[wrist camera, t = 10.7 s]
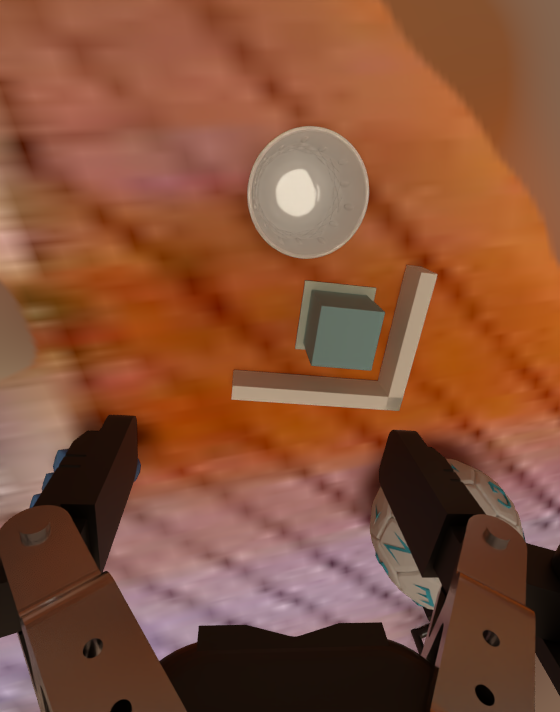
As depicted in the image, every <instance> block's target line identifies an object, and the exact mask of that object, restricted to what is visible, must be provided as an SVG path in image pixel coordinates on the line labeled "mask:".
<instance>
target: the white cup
mask: <svg viewBox="0 0 560 712" xmlns="http://www.w3.org/2000/svg"><path fill="white" fill-rule="evenodd" d="M368 199H369V181H368V176H367V171H366V168H365V165H364V163H363V161H362V159H361V157H360V155H359V153H358V152H357V150H356V149H355V148H354V147H353V145H352V144H351V143H350V142H349V141H347V140H346V139H345V138H344V137H342V136H341V135H339V134H338V133H336V132H334V131H332V130H329V129H326V128H322V127H316V126H304V127H298V128H294V129H291V130H288V131H286V132H284V133H282V134H280V135H279V136H277V137H276V138H274V139H273V140H272V141H271V142H270V143H269V144H268V145H267V146H266V147H265V148H264V149H263V150H262V152H261V153H260V154H259V156H258V157H257V159H256V161H255V163H254V165H253V168H252V170H251V173H250V177H249V181H248V189H247V200H248V207H249V212H250V215H251V218H252V221H253V223H254V225H255V227H256V229H257V231H258V232H259V234H260V235H261V236H262V238H263V239H264V240H265V241H266V242H267V243H268V244H269V245H270V246H272V247H273V248H274V249H276V250H277V251H279V252H281V253H283V254H285V255H288V256H291V257H295V258H304V259H309V258H317V257H321V256H325V255H327V254H330V253H332V252H334V251H336V250H337V249H339V248H340V247H342V246H343V245H344V244H345V243H346V242H348V241H349V240H350V238H351V237H352V236H353V235H354V234H355V232H356V231H357V229H358V228H359V226H360V224H361V222H362V220H363V218H364V215H365V213H366V209H367V205H368Z"/></svg>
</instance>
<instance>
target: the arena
mask: <svg viewBox="0 0 560 712" xmlns="http://www.w3.org/2000/svg"><path fill="white" fill-rule="evenodd" d="M436 278H437V274H436V273H434V272H432V271H429V270H427V269H425V268H423V267H421V266H412V265H406V269H405V273H404V277H403V281H402V285H401V290H400V294H399V298H398V302H397V306H396V310H395V314H394V318H393V322H392V326H391V330H390V334H389V338H388V342H387V346H386V350H385V354H384V358H383V362H382V366H381V370H380V374H379V378H378V381H373V380H360V379H347V378H334V377H321V376H308V375H295V374H282V373H269V372H256V371H243V370H234V372H233V385H232V399H233V400H247V401H262V402H277V403H291V404H306V405H321V406H335V407H350V408H365V409H379V410H394V411H399V410H400V406H401V403H402V399H403V395H404V392H405V388H406V385H407V381H408V378H409V374H410V371H411V367H412V363H413V360H414V356H415V353H416V349H417V346H418V342H419V339H420V335H421V331H422V328H423V324H424V321H425V317H426V314H427V310H428V306H429V303H430V299H431V296H432V292H433V289H434V285H435V282H436ZM311 290H322V291H331V292H341V293H350V294H360V295H367V296H368V297H369V298H370V299H371V300H373V301H374V297H375V292H376V288H373V287H364V286H354V285H345V284H336V283H326V282H317V281H308V280H305V285H304V292H303V298H302V305H301V312H300V318H299V325H298V331H297V338H296V345H295V349H305V346H304V344H303V340H304V334H305V328H306V321H307V315H308V309H309V303H310V296H311ZM305 350H306V349H305Z"/></svg>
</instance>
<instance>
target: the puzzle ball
mask: <svg viewBox="0 0 560 712" xmlns="http://www.w3.org/2000/svg"><path fill="white" fill-rule="evenodd" d="M446 460H447V461H448V463H449V464H450V465H451V467H452V468H453V469H454V472H456V474H457V475H458V476H459V478H460V479H461V482H463V483H464V485H465V486H466V487H467V489H468V490H469V491H470V493H471V494H472V496H473V497H474V498H475V500H476V501H477V502H478V504H479V505H480V507H481V508H482V509H483V511H484V512H485V513H486V515H490V516H493V517H496V518H498V519H501V520H503V521H504V522H506V523H508V524H509V525H511V526H512V527H513V528H514V529H515V530H517V531H518V532H519V534H520V535H521V536H522V537H524V533H522V529H523V528H522V527H521V522H520V518H519V515H518V513H517V511H516V510H515V507H514V504H513V503H512V501H511V500H510V499H509V498H508V496H507V495H506V494H505V492H504V491H503V490H502V489H501V487H500V486H499V485H498V484H497V483H496V482H494V481H493V480H492V479H491V478H490V477H489V476H487V475H486V474H484V473H482V471H481V472H480V471H479V470H477V469H475V468H473V467H471V466H468V465H466V464H464V463H461V462H459V461H457V460H454V459H447V458H446ZM370 534H371V539H372V543H373V546H374V548H375V551H376V555H375V556H376V558H377V560H378V562H379V563H380V564H381V565H382V566H383V568H384V570H385V572H386V573H387V575H388V576H389V578H390V579H391V580H392V582H393V583H394V584H395V585H396V586H397V587H398V589H399V590H401V591H402V592H403V593H404V594H406V595H407V596H408V597H410V598H411V599H412V600H413V601H414V602H415V603H416V604H417V605H419V606H423V607H426V608H427V609H432V610H434V606H435V602H436V598H437V595H438V592H439V589H440V587H441V582H440V580H439V578H422V576H421V574H420V572H419V570H418V568H417V565H416V563H415V561H414V559H413V557H412V554H411V552H410V550H409V548H408V546H407V543H406V541H405V539H404V537H403V535H402V532H401V530H400V528H399V526H398V524H397V521H396V519H395V517H394V515H393V513H392V510H391V508H390V506H389V504H388V501H387V499H386V497H385V495H384V493H383V490H382V488H381V487H380V489H379V491H378V493H377V495H376V496H375V498H374V501H373V504H372V510H371V520H370ZM523 539H524V540H525V537H524V538H523Z"/></svg>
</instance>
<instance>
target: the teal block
mask: <svg viewBox="0 0 560 712" xmlns="http://www.w3.org/2000/svg"><path fill="white" fill-rule="evenodd" d="M384 314H385V312H384V311H383V310H382V309H381V308H380V307H379V306H378V305H377V304H376V303H375V302H374V301H373V300H371V299H370V298H369V297H368V296H367V295H360V294H350V293H341V292H331V291H322V290H311V296H310V303H309V309H308V315H307V321H306V328H305V334H304V340H303V344H304V346H305V349H306V352H307V355H308V358H309V360H310V363H311V366H321V367H334V368H346V369H358V370H371V369H372V365H373V361H374V356H375V352H376V348H377V344H378V340H379V335H380V331H381V327H382V323H383V319H384Z"/></svg>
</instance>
